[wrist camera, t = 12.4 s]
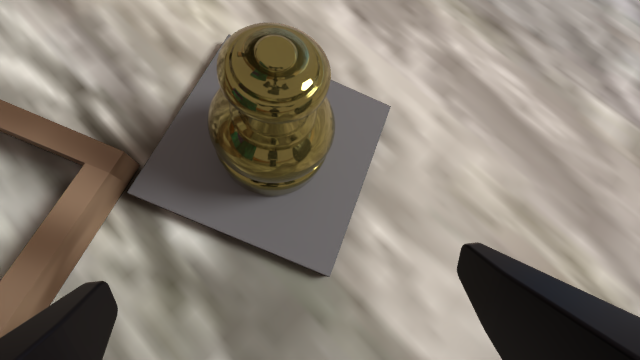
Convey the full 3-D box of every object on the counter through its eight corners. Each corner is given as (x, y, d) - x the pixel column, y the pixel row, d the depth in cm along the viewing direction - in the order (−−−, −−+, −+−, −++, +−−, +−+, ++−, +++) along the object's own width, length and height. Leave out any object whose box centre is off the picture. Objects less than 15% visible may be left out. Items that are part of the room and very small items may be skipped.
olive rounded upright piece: (248, 86, 23) (234, -46, 13) (338, 127, 23) (387, 27, 13) (198, 170, 20) (136, 81, 11) (299, 215, 20) (325, 167, 11)
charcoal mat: (327, 276, 21) (329, 276, 20) (133, 196, 20) (127, 192, 19) (386, 112, 25) (390, 106, 24) (230, 43, 25) (228, 34, 24)
